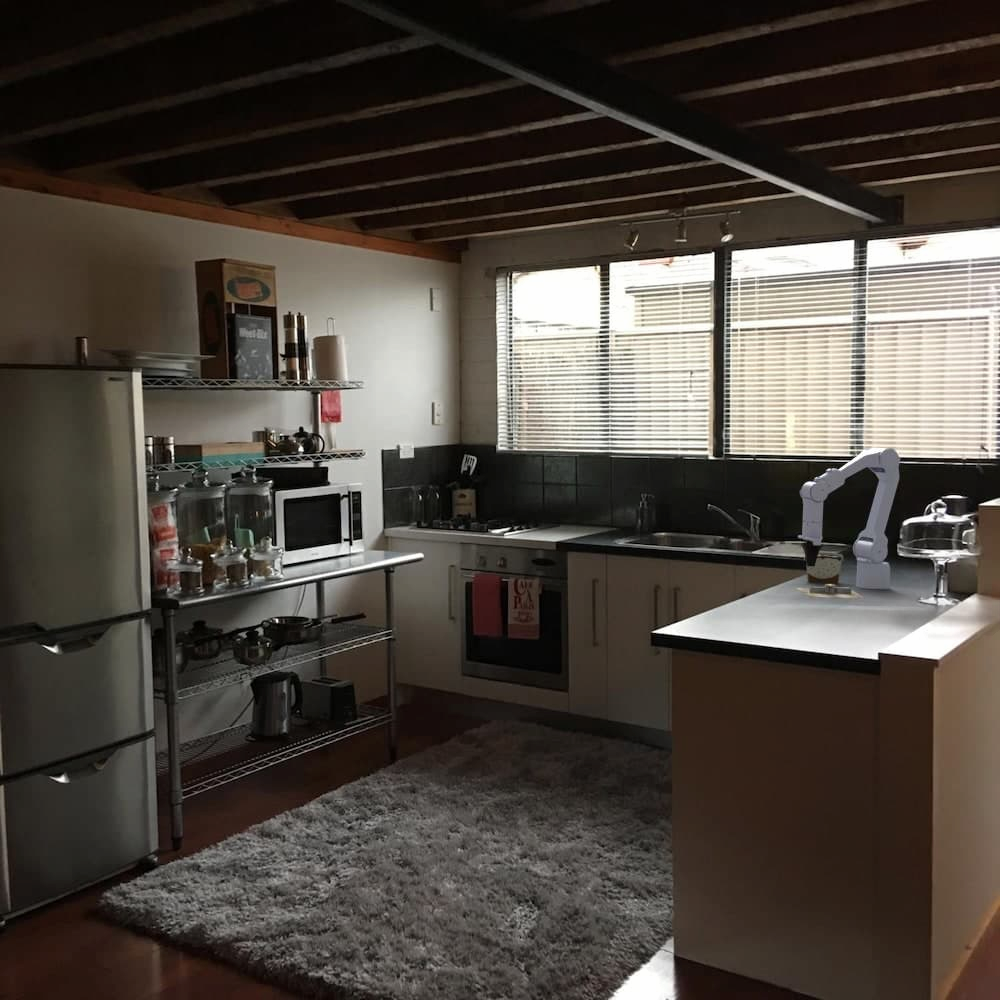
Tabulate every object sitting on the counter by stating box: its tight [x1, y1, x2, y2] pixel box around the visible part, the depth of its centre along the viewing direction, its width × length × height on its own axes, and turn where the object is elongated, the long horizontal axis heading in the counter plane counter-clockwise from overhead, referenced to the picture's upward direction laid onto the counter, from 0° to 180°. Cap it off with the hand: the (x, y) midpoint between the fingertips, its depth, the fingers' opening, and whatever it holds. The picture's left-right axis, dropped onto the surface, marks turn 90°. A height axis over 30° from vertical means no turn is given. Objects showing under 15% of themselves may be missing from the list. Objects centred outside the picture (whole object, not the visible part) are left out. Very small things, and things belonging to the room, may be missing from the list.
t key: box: [808, 585, 852, 594], centre depth 322 cm, size 12×4×2 cm, turn 87°
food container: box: [803, 551, 845, 584], centre depth 345 cm, size 12×6×10 cm, turn 84°
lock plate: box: [796, 583, 865, 599], centre depth 322 cm, size 16×16×3 cm
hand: (810, 566), depth 328 cm, fingers closed
